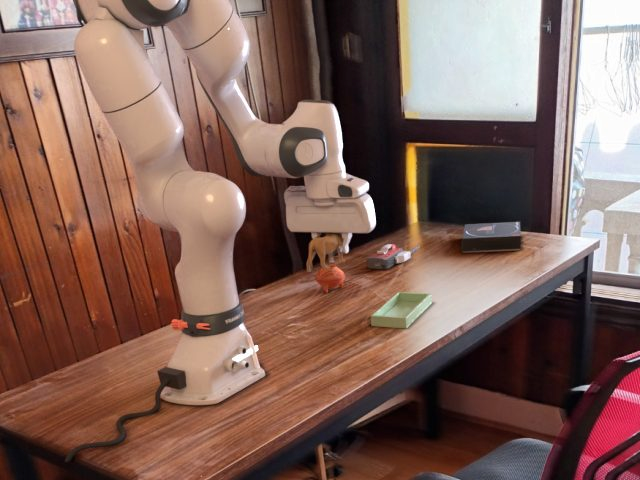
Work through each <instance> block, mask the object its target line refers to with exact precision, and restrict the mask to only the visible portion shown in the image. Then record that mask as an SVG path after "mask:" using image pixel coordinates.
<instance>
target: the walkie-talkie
mask: <svg viewBox="0 0 640 480" xmlns="http://www.w3.org/2000/svg"><path fill="white" fill-rule="evenodd" d="M420 248H421V247H420V245H417V246H415V247H413V248H412V249H410V250H404V249H403V248H402V247H396V244H393V243H392V244H391V243H387V244H385V245H383V246H382V247H381V248H380V250H377V251H376V253H374V254H372V255H370V256H369V257H367V258H366V263H367V269H370V270H385V271H386V270H388V269H390V268H391V267H393V266H394V265H396V264H402V263H405V262H406V261H408V260H410V259H411V258H412V257H411V255H412V254H413V253H415V252H417V251H418V250H419V249H420Z"/></svg>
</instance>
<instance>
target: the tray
mask: <svg viewBox="0 0 640 480" xmlns="http://www.w3.org/2000/svg"><path fill="white" fill-rule="evenodd" d="M432 296H433V295H432V293H427V292H426V293H425V292H409V291H408V292H405V291H397V293H395V294H394V295H392V297H391V298H389V299H387V301H385V303H384V304H382V305H381V306H380V307H379V308H378V309H377V310H376V311H375V312H373V313H372V314H371V315H370V324H371V327H380V328H392V329H393V328H395V329H396V328H397V329H408V328H409V327H410V326H411V325H412V324H413V323H414V322H415V321H416V320H417V319H418V318H419V317H420V316H421V315H422V314H423V313H424V312H425V311H426V310H427V309H428V308H429V307H430V306H432V304H433V299H432Z"/></svg>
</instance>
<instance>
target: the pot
mask: <svg viewBox="0 0 640 480" xmlns="http://www.w3.org/2000/svg"><path fill="white" fill-rule="evenodd" d="M325 265H326V266H327V267H330V270H325V269H324V268H323V267H322V266H321V268H320V269H319V270H318V271H317V272H316V274H315V275H314V280H315V281H316V282H317V284H319V285H320V286H322V287H323V291H324V292H325V293H328V292H329V288H335V287H337V286H339V288H340V289H342V288H343V287H344V286H343V285H344V281H345V279H346V274H345V273H344V271H343V270H341V269H340V268H339V267H338V266H337V265H336V264H325Z"/></svg>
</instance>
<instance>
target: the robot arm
mask: <svg viewBox="0 0 640 480" xmlns="http://www.w3.org/2000/svg"><path fill="white" fill-rule="evenodd" d="M72 2H73V6H74V7H75V13H76V20H77V21H78V24H79V25H80V26H81V28H80V30H79V31H78V32H77V34H76V36H75V38H74V42H73V49H74V50H73V51H74V54H75V58H76V60H77V61H78V65H79V67H80V71H81V73H82V75H83V77H84V80H85V82H86V84H87V87H88V88H89V90H90V93H91V94H92V96H93V98H94V100H95V102H96V104H97V106H98V108H99V109H100V111H101V112H102V115H103V117H104V118H105V120H106V121H107V123H108V125H109V126H110V128H111V130H112V131H113V134H114V136H115V137H116V139H117V140H118V143H119V144H120V146H121V148H122V149H123V151H124V153H125V155H126V157H127V160H128V162H129V165H130V168H131V170H132V173H133V176H134V180H135V183H136V191H135V197H136V198H135V199H136V204H137V207H138V209H139V211H140V213H141V214H142V216H143V217H144V218H145V219H147V220H148V221H149V222H151V223H152V224H153V225H156V226H157V227H159V228H160V229H163V230H165V231H169V232H175V233H179V236H180V241H181V250H180V251H181V254H180V260H179V262H178V263H177V264H176V266H175V269H174V276H175V280H176V284H177V290H178V294H179V298H180V303H181V307H182V309H181V315H180V316H181V317H180V319H176V318H174V319H173V318H172V320H171V323H170V328H171V329H172V330H173V331H178V330H179V331H181V332H182V333H181V335H180V338H179V340H178V342H177V344H176V346H175V348H174V350H173V352H172V355H171V357H170V359H169V361H168V362H167V366H164V367H162V368H160V369H158V370H157V376H158V379H159V384H160V385H159V386H158V387H157V389H156V390H155V391H156V392H155V394H154V400H155V401H154V402H155V405H154V406H153V407H152V408H151V409H148V410H146V411H140V412H132V413H125V414H124V415H122V416H120V417H119V418H118V419H117V420H116V422H115V425H116V428H117V430H118V432H119V435H118V436H117V437H116V438H114V439H111V440H106V441H95V442H87V443H83V444H80V445H78V446H75V447H74V448H72V449H71V450H70V451H69V452H68V454H67V455H66V456H65V458H64V462H65V463H68V462H71V461H72V459H73V458H74V457H75V455H76V454H78V453H80V452H81V451H85V450H88V449H89V450H90V449H95V448H97V449H98V448H108V447H112V446H115V445H118V444H120V443H121V442H122V441H124V439H125V438H126V436H127V433H126V429H125V428H124V427H123V425H122V424H123V423H124V422H125V421H127V420H130V419H136V418H137V419H138V418H140V417H146V416H150V415H154V414H155V413H157V411H159V409H160V408H161V404H162V403H161V400H163V401H165V402H169V403H173V404H177V405H187V406H210V405H216V404H219V403H220V402H222V401H225V400H226V399H228V398H230V397H231V396H233V395H235V394H236V393H239V392H240V391H242V390H243V389H245V388H247V387H249V386H251V385H252V384H254V383H256V382H257V381H260V380H261V379H263V378H264V377H265V376H266V372H265V370H264V369H263V368H262V367H261V366H260V361H259V358H258V355H257V352H258V351H259V346H258V345H257V344H256V345H254V341H253V338H252V336H251V334H250V332H249V331H248V329H247V327H246V325H245V311H244V310H245V309H244V307H243V304H242V301H241V300H240V299H239V294H238V287H237V282H236V281H237V280H236V275H235V271H234V270H235V269H234V247H235V239H236V237H237V233H238V231H239V230H240V229H241V228H242V227H243V225H244V222H245V219H246V215H247V214H246V213H247V205H246V199H245V196H244V194H243V192H242V190H241V189H240V188H239V186H238V185H237V184H236V183H234V182H233V181H231V180H229V179H227V178H225V177H224V176H221V175H220V174H217V173H214V172H208V171H200V170H194V169H193V168H192V167H191V165H190V164H189V162H188V160H187V156H186V154H185V150H184V147H183V138H184V135H185V127H184V124H183V123H184V122H183V121H182V118H181V117H180V115H179V113H178V111H177V109H176V107H175V104H173V101H172V100H171V97H170V95H169V94H168V91H167V89H166V88H165V85H164V84H163V82H162V80H161V78H160V76H159V74H158V72H157V70H156V69H155V67H154V65H153V64H152V62H151V60H150V58H149V55H148V52H147V49H146V45H145V36H144V34H145V33H144V30H146V29H149V28H155V27H156V28H157V27H162V26H164V25H165V27H167V28H168V30H169V31H170V32H171V34H172V35H173V37H174V38H175V40H176V42H177V43H178V45H179V47H181V50H183V51H184V53H185V55H186V56H187V58H188V60H189V61H190V62H191V65H192V66H193V68H194V70H195V74H196V77H197V80H198V83H199V84H200V87H201V88H202V89H201V90H203V92H204V94H205V97H207V100H208V101H209V103H210V105H211V106H212V108H213V109H214V111H215V114H216V115H217V116H218V117H219V120H220V121H221V123H222V125H223V126H224V128H225V130H226V131H227V133H228V135H229V137H230V140H231V143H232V145H233V148H234V151H235V155H236V157H237V160H238V162H239V165H240V166H241V168H242V169H243V170H244V171H245V172H246V173H247V174H249V175H251V176H253V177H256V178H264V177H265V178H267V177H273V178H284V179H285V178H286V179H287V178H288V179H300V178H303V180H304V185H298V186H295V185H290V186H288V188H286V190H285V191H284V193H283V199H284V203H285V219H286V221H285V222H286V228H287V229H288V230H289V231H290V233H311V239H312V240H313V239H314V238H322V237H321V235H322V233H326V234H327V233H342V237H343V238H345V239H344V242H343V244H341V245H339V249H340V253H343V254H349V251H350V247H349V244H350V243H351V240H352V237H353V234H369V233H371V232H372V231H373V230H374V229H375V228H376V225H377V220H376V218H377V217H376V212H375V205H374V202H373V199H372V197H371V195H370V194H368V193H367V192H369V190H370V183H369V182H368V181H367V180H365V179H362V178H359V177H358V176H354V175H351V174H349V173H347V172H346V164H345V163H344V159H343V148H344V143H343V132H342V127H341V121H340V117H339V112H338V110H337V107H336V106H335V104H334V103H332V102H331V101H329V100H323V99H321V100H320V99H303V100H300V101H298V102H297V106H296V109H295V110H294V111H293V113H292V114H291V115H290V116H289V117H288V118H287V119H286V120H285V121H283V122H282V123H281V124H280V123H268V122H265V121H263V120H261V119H259V118H258V117H257V116H256V115H255V114H254V112H253V110H252V108H251V107H250V105H249V103H248V102H247V100H246V98H245V96H244V94H243V92H242V91H241V88H240V87H239V84H238V82H237V77H238V75H239V74H240V73H241V72H242V71H243V69H244V68H245V66H246V64H247V62H248V59H249V56H250V51H251V49H250V38H249V35H248V33H247V30H246V28H245V25H244V24H243V22H242V19H241V18H240V17H239V15H238V13H237V12H236V10H235V8H234V7H233V5H232V3H231V2H230V0H72Z"/></svg>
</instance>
